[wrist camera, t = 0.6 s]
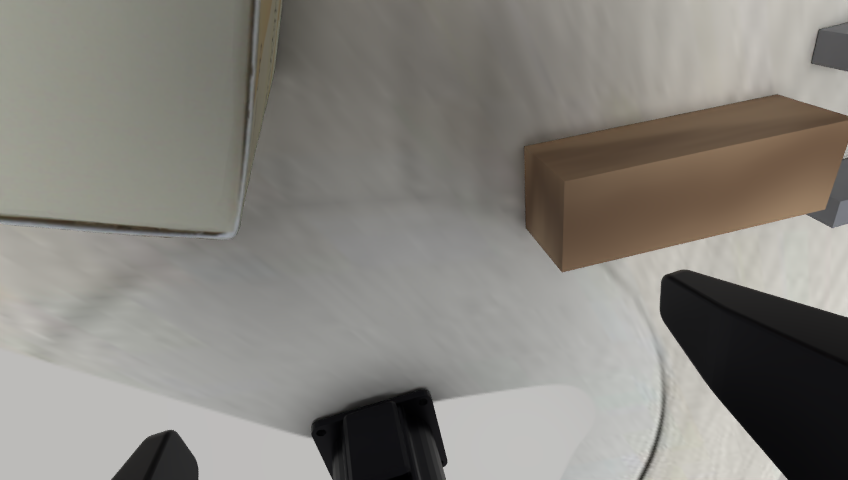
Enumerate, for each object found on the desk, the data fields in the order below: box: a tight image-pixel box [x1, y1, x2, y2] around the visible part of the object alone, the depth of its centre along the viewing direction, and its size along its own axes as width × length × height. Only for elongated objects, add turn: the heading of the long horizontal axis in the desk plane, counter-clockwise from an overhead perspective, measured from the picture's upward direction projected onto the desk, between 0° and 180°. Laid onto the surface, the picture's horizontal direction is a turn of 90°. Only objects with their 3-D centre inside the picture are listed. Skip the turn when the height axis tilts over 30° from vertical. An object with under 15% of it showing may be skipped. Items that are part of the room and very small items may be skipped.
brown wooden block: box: [524, 95, 848, 272], centre depth 21 cm, size 4×12×4 cm, turn 98°
